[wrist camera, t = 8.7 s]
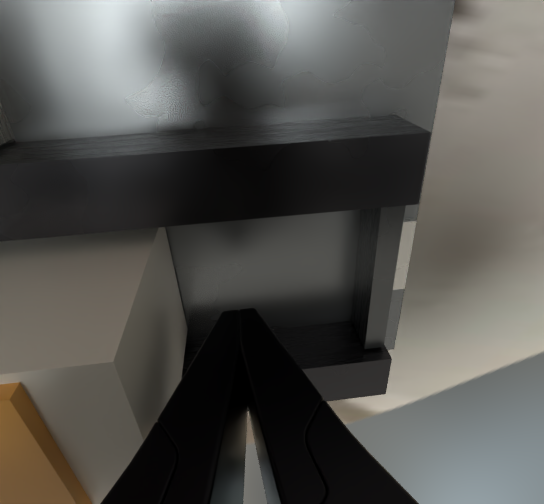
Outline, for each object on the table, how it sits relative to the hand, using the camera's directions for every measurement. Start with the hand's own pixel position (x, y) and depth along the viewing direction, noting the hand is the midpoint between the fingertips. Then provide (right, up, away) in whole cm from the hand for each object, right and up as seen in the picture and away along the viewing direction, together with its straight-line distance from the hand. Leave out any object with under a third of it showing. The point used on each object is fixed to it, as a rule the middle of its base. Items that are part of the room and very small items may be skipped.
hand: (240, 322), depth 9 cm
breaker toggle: (-4, +1, +1) cm, 4 cm away
